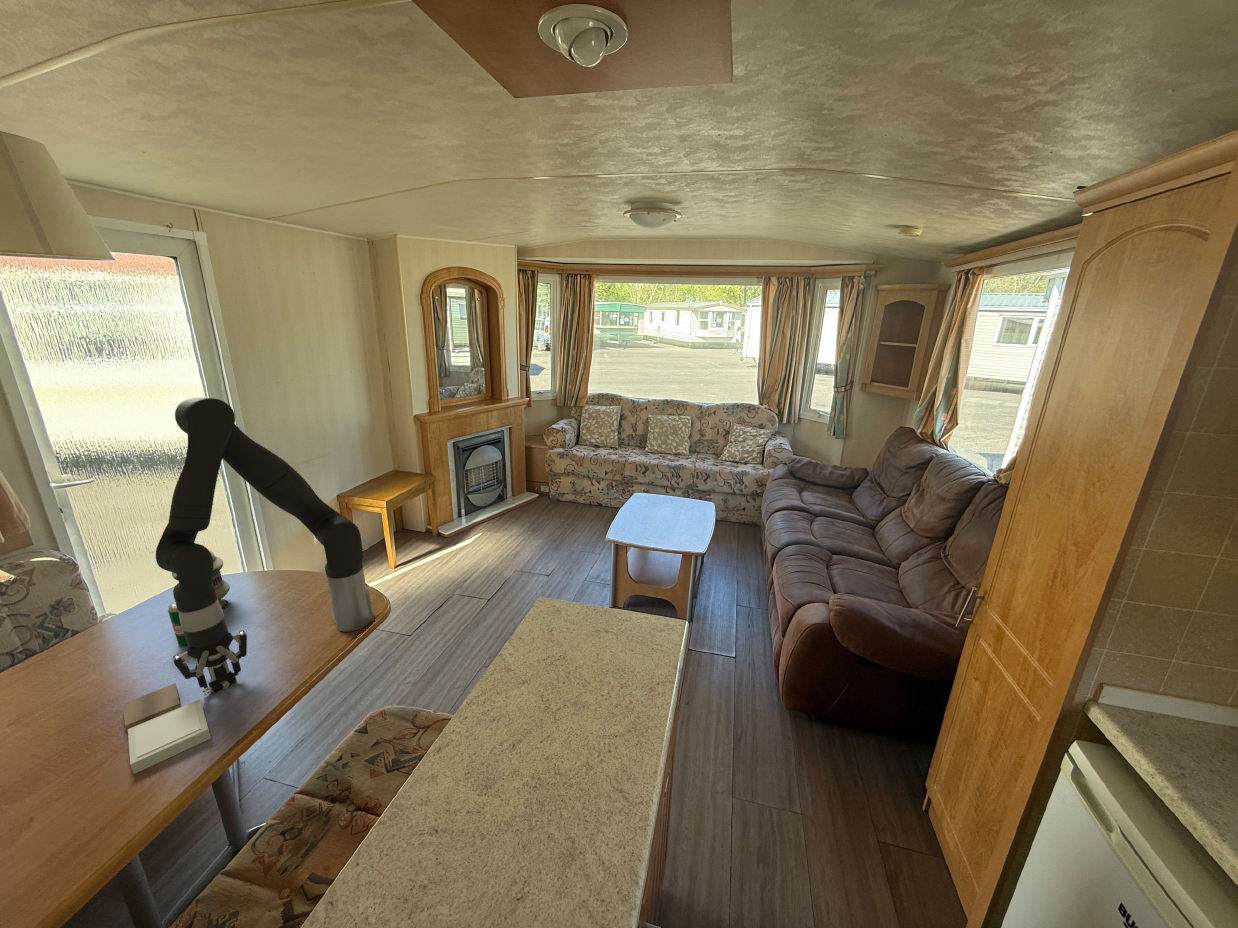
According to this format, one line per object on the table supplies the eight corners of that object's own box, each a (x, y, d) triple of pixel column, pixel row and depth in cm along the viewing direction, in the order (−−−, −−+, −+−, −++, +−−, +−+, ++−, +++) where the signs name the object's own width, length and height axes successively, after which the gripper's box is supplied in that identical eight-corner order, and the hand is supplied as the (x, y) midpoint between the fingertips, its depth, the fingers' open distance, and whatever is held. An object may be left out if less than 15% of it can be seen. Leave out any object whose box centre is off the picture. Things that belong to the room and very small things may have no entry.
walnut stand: (177, 689, 119) (175, 683, 118) (181, 710, 112) (179, 703, 112) (126, 710, 112) (123, 703, 112) (127, 732, 106) (124, 725, 106)
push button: (210, 700, 115) (199, 665, 112) (198, 692, 118) (187, 658, 115) (241, 682, 121) (232, 648, 118) (230, 675, 123) (220, 641, 120)
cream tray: (202, 707, 113) (199, 698, 112) (210, 738, 105) (207, 728, 104) (131, 738, 105) (127, 728, 104) (133, 773, 97) (130, 763, 96)
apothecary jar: (212, 620, 145) (197, 566, 140) (172, 620, 145) (155, 566, 140) (243, 598, 156) (230, 547, 151) (206, 597, 157) (191, 546, 151)
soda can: (174, 644, 135) (162, 606, 131) (195, 633, 139) (184, 596, 136) (185, 648, 133) (173, 610, 129) (206, 638, 137) (195, 600, 134)
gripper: (237, 601, 121) (253, 658, 126) (160, 627, 112) (180, 687, 117) (244, 614, 116) (260, 672, 121) (163, 642, 107) (184, 704, 112)
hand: (221, 679), depth 119 cm, fingers closed on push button, 5 cm apart
